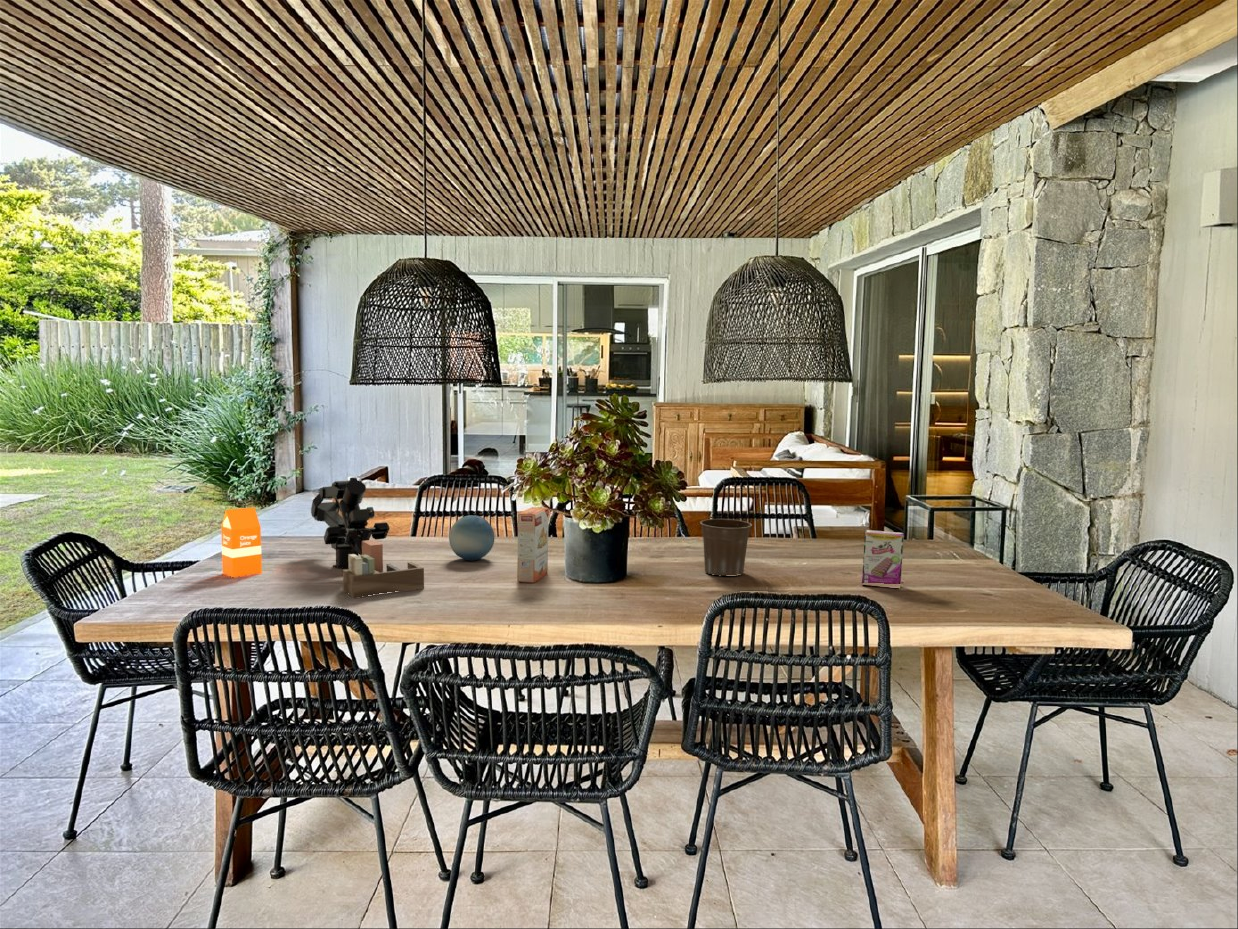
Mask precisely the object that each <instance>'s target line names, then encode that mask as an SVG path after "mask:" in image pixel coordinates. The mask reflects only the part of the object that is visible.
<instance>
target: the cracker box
mask: <svg viewBox="0 0 1238 929" xmlns="http://www.w3.org/2000/svg"><path fill="white" fill-rule="evenodd" d="M549 512H550V507H549V508H548V507H536V506H532V507H530V508H527V509H525V510H523V511H520V512H518V513H517V563H516V565H517V566H516V567H517V570H516V572H517V573H516V579H517V580H516V582H517V583H527V584H528V583H529V584H535V583H537V581H539V580H540V579H541V578H542V577H544V576H545V575H547V574H548V572H549V571H548V569H549V566H548V565H549V563H548V562H549V522H550V520H549V518H550V517H549V515H550V514H549Z"/></svg>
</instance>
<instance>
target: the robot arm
mask: <svg viewBox="0 0 1238 929" xmlns="http://www.w3.org/2000/svg"><path fill="white" fill-rule="evenodd" d="M366 490H367V487H366V484H364V482H362V481H360V480H358V478H357V477H350V478H349V480H337V481H334V482H332V483H331V486H323V487H320V488H319V493H318V494H317V495H316V496H315V497H314V498H313V499H312V501H311V502H312V503H311V508H310V515H311V517H312V518H313V520H315V521H317V522H325V523H326V525H327V528H325V532H324V535H323V541H324V544H325V545H330V547H331V548H332V549H334V550H335V564H333V565H332V568H338V569H344V570H346V569H348V570H349V562H348V554H355V555H357V556H359V557H360V556H361V555H362V541H366V540H371V537H372V539H373V540H375V541H377V540H384V539H386V538H387V537H388V534H389V531H390V525H389V523H388V522H386V521H384V522H375V523H374V525H373V526H372V527H366V526H368V521H369V520H370V519H373V518H374V517H375V515H376V514H375V510H374V507H373V506H369V507H368V506H367V507H366V508H362V509H361V508H360V504H362V501H363V498H364V496H365V493H366ZM325 499H333V500H334V501H326V502H325V501H324V500H325ZM339 500H340V501H339ZM323 501H324V502H323Z"/></svg>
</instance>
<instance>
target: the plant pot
mask: <svg viewBox="0 0 1238 929" xmlns="http://www.w3.org/2000/svg"><path fill="white" fill-rule="evenodd" d="M699 523H700V525H701V534H702V537H703V538H702V539H703V542H702V543H703V559H704V571H705V573H706V574H707V573H708V575H709V574H714V575H722V576H725V575H737V574H742V575H743V574H744V572H745V570H744V569H745V562H746V556H747V548H748V540H749V537H750V533H751V528H752V526H753V524H752V523H751V522H748V521H744V520H739V519H730V518H709V519H703V520H701V521H699Z"/></svg>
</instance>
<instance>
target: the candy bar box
mask: <svg viewBox="0 0 1238 929" xmlns="http://www.w3.org/2000/svg"><path fill="white" fill-rule="evenodd" d="M904 538H905V534H904V532H896V531H895V532H894V531H886V530H885V531H882V530H871V529H865V532H864V541H863V542H864V544H863V557H862V558H863V560H862V574H861V575H862V576H861V579H862V580H861V584H862V583H884V584H902V569H903V555H904V554H903V553H904V552H903V551H904Z"/></svg>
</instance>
